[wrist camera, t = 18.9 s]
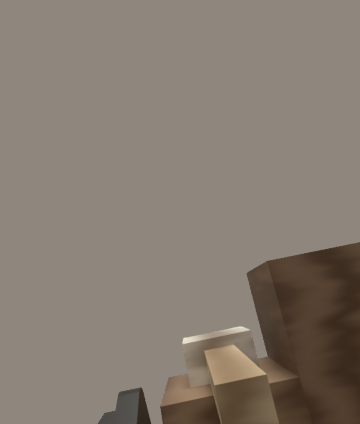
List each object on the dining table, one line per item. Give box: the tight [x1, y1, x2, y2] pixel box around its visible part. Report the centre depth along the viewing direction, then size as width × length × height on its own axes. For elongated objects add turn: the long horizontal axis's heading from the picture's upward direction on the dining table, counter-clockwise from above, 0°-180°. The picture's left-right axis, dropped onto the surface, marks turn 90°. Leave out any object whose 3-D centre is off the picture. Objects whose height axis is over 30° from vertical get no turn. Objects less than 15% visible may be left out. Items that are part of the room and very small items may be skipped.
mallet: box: [182, 326, 279, 424], centre depth 27 cm, size 7×20×4 cm, turn 179°
